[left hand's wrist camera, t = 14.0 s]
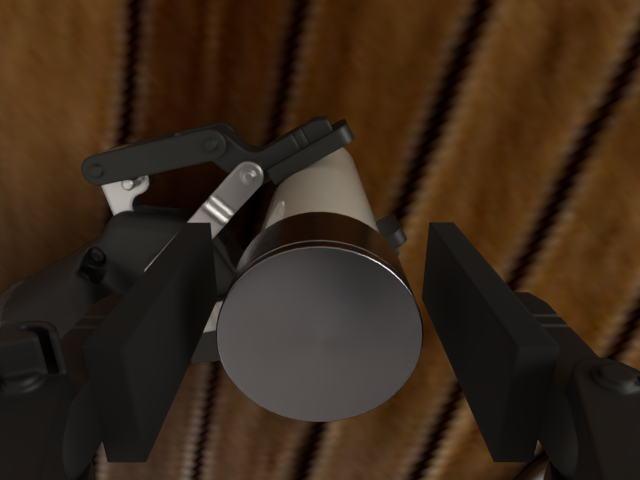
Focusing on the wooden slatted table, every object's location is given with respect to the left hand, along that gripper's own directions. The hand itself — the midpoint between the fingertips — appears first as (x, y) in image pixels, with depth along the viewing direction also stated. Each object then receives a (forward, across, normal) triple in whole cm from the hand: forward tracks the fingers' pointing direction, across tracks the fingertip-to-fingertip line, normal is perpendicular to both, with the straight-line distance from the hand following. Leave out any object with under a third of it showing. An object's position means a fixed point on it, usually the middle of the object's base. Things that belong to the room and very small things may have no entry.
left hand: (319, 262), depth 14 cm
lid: (-4, 0, 0) cm, 4 cm away
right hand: (+6, -2, -1) cm, 6 cm away
